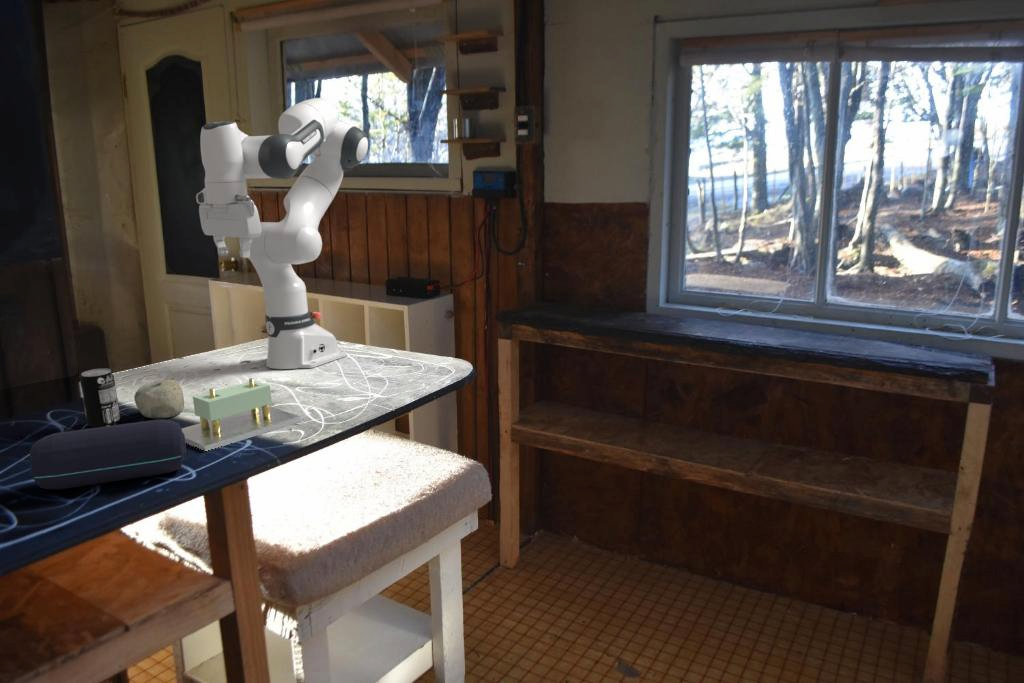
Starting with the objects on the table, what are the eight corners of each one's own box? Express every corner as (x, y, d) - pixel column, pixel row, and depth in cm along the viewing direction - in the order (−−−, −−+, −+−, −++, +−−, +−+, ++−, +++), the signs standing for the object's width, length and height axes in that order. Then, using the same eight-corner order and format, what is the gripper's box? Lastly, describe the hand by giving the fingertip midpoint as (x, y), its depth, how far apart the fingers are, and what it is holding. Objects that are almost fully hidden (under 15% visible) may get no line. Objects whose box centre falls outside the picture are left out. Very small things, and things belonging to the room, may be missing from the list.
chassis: (265, 409, 181) (260, 367, 179) (300, 421, 172) (296, 377, 170) (171, 437, 165) (165, 391, 163) (205, 451, 156) (198, 403, 154)
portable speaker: (190, 459, 153) (183, 409, 151) (188, 478, 144) (181, 425, 141) (43, 480, 145) (33, 429, 143) (31, 502, 136) (20, 447, 134)
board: (255, 398, 175) (253, 380, 174) (271, 403, 171) (269, 385, 170) (195, 415, 165) (192, 396, 164) (211, 421, 160) (208, 402, 159)
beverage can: (89, 422, 177) (81, 370, 174) (122, 417, 179) (114, 366, 177) (85, 431, 171) (76, 377, 168) (119, 426, 173) (111, 373, 171)
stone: (183, 386, 188) (179, 365, 180) (187, 425, 183) (182, 405, 175) (137, 393, 185) (130, 371, 177) (140, 432, 180) (132, 412, 172)
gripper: (264, 194, 175) (271, 257, 178) (217, 194, 188) (224, 252, 191) (238, 196, 170) (246, 260, 174) (192, 195, 184) (199, 255, 187)
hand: (234, 256), depth 183 cm, fingers open, 8 cm apart
